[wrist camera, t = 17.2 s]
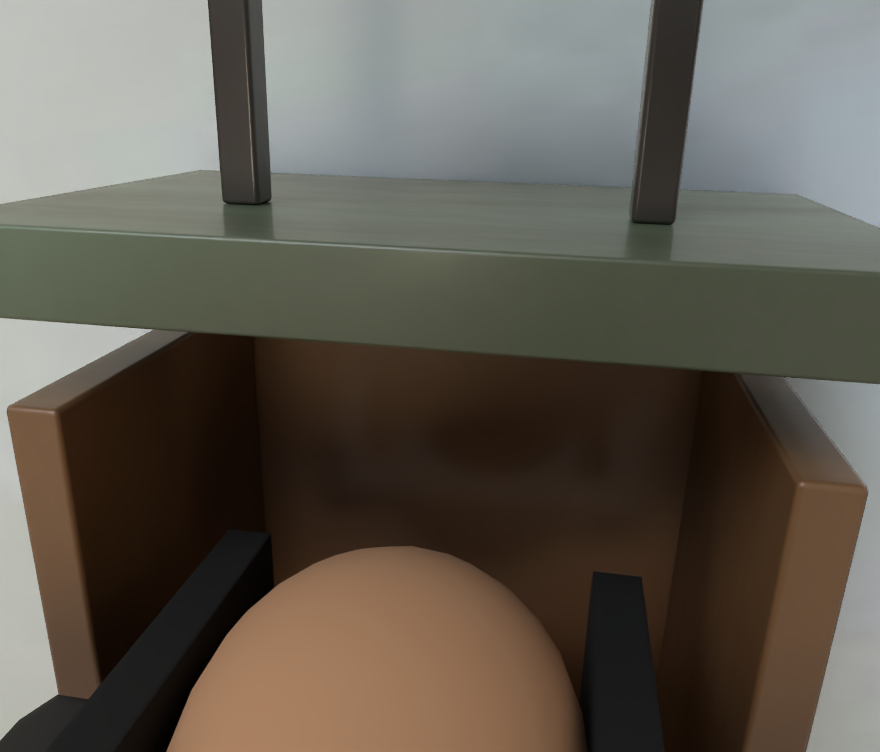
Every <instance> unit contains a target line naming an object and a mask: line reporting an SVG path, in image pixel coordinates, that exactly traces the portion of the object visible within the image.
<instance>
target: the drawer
mask: <svg viewBox="0 0 880 752" xmlns="http://www.w3.org/2000/svg"><path fill="white" fill-rule="evenodd" d="M208 8H209V22H210V36H211V49H212V63H213V77H214V91H215V105H216V118H217V132H218V146H219V160H220V171H209V170H199V171H193V172H187V173H181V174H175V175H169V176H163V177H157V178H152V179H146V180H140V181H134V182H128V183H122V184H116V185H110V186H105V187H99V188H93V189H87V190H81V191H75V192H69V193H63V194H58V195H52V196H46V197H40V198H34V199H28V200H22V201H16V202H11V203H5V204H0V318H9V319H22V320H35V321H48V322H62V323H75V324H88V325H101V326H115V327H128V328H141V329H154V330H152V331H150V332H148V333H146V334H145V335H143V336H141V337H139V338H137V339H135V340H133V341H131V342H129V343H127V344H126V345H124V346H122V347H120V348H118V349H116V350H114V351H112V352H110V353H108V354H107V355H105V356H103V357H101V358H99V359H97V360H95V361H93V362H91V363H89V364H87V365H86V366H84V367H82V368H80V369H78V370H76V371H74V372H72V373H70V374H68V375H67V376H65V377H63V378H61V379H59V380H57V381H55V382H53V383H51V384H49V385H48V386H46V387H44V388H42V389H40V390H38V391H36V392H34V393H32V394H30V395H29V396H27V397H25V398H23V399H21V400H19V401H17V402H15V403H13V404H11V405H10V406H8V408H7V416H8V421H9V426H10V432H11V437H12V443H13V448H14V454H15V459H16V465H17V470H18V475H19V481H20V486H21V492H22V497H23V503H24V508H25V514H26V519H27V524H28V530H29V535H30V541H31V546H32V552H33V557H34V563H35V568H36V573H37V579H38V584H39V590H40V595H41V601H42V606H43V611H44V617H45V622H46V628H47V633H48V639H49V644H50V650H51V655H52V660H53V666H54V671H55V677H56V682H57V688H58V693H59V695H65V696H71V697H78V698H84V699H89V698H90V696H91V695H92V694H93V693H94V692H95V690H96V689H97V688H98V687H99V686H100V684H101V683H102V682H103V681H104V680H105V678H106V677H107V676H108V675H109V674H110V672H111V671H112V670H113V669H114V667H115V666H116V665H117V664H118V663H119V661H120V660H121V659H122V658H123V657H124V655H125V654H126V653H127V652H128V651H129V649H130V648H131V647H132V646H133V645H134V643H135V642H136V641H137V640H138V639H139V637H140V636H141V635H142V634H143V632H144V631H145V630H146V629H147V628H148V626H149V625H150V624H151V623H152V622H153V620H154V619H155V618H156V617H157V616H158V614H159V613H160V612H161V611H162V610H163V608H164V607H165V606H166V605H167V603H168V602H169V601H170V600H171V599H172V597H173V596H174V595H175V594H176V593H177V591H178V590H179V589H180V588H181V587H182V585H183V584H184V583H185V582H186V581H187V579H188V578H189V577H190V576H191V574H192V573H193V572H194V571H195V570H196V568H197V567H198V566H199V565H200V564H201V562H202V561H203V560H204V559H205V558H206V556H207V555H208V554H209V553H210V552H211V550H212V549H213V548H214V547H215V546H216V544H217V543H218V542H219V541H220V539H221V538H222V537H223V536H224V535H225V533H226V532H227V531H228V530H229V529H234V530H243V531H252V532H260V533H269V534H271V541H272V558H273V575H274V588H275V587H276V586H277V585H278V584H280V583H281V582H283V581H285V580H287V579H288V578H290V577H292V576H294V575H295V574H297V573H299V572H300V571H302V570H304V569H306V568H307V567H309V566H311V565H312V564H314V563H317V562H319V561H322V560H324V559H327V558H329V557H332V556H335V555H338V554H342V553H346V552H350V551H354V550H357V549H364V548H375V547H391V546H415V547H419V548H424V549H428V550H433V551H437V552H442V553H447V554H450V555H452V556H454V557H457V558H459V559H461V560H463V561H466V562H468V563H470V564H472V565H474V566H475V567H477V568H478V569H480V570H482V571H483V572H485V573H487V574H488V575H490V576H491V577H493V578H495V579H496V580H498V581H499V582H501V583H502V584H503V585H505V586H506V587H507V588H509V589H510V590H511V591H512V592H513V593H514V594H515V595H516V596H517V597H518V598H519V599H520V600H521V601H522V602H523V603H524V605H525V606H526V607H527V608H528V609H529V610H530V611H531V612H532V613H533V614H534V615H535V616H536V617H537V618H538V619H539V620H540V622H541V623H542V625H543V626H544V628H545V630H546V631H547V633H548V634H549V636H550V637H551V639H552V640H553V642H554V644H555V645H556V647H557V648H558V650H559V651H560V653H561V656H562V659H563V662H564V664H565V667H566V670H567V672H568V675H569V678H570V681H571V683H572V686H573V689H574V691H575V694H576V697H577V700H578V702H579V698H580V689H581V679H582V670H583V661H584V651H585V642H586V633H587V623H588V614H589V605H590V595H591V586H592V577H593V571H596V572H604V573H613V574H621V575H630V576H639V577H642V583H643V591H644V598H645V606H646V613H647V621H648V629H649V636H650V644H651V651H652V659H653V666H654V674H655V681H656V689H657V697H658V704H659V712H660V719H661V727H662V734H663V742H664V749H665V752H806V749H807V745H808V741H809V737H810V733H811V728H812V724H813V720H814V716H815V712H816V708H817V704H818V699H819V695H820V691H821V687H822V683H823V679H824V675H825V670H826V666H827V662H828V658H829V654H830V650H831V645H832V641H833V637H834V633H835V629H836V625H837V621H838V616H839V612H840V608H841V604H842V600H843V596H844V592H845V587H846V583H847V579H848V575H849V571H850V567H851V563H852V558H853V554H854V550H855V546H856V542H857V538H858V534H859V529H860V525H861V521H862V517H863V513H864V509H865V504H866V500H867V496H868V489H867V486H866V485H865V484H864V482H863V481H862V480H861V478H860V477H859V476H858V474H857V473H856V472H855V470H854V469H853V468H852V466H851V465H850V464H849V462H848V461H847V460H846V459H845V457H844V456H843V455H842V453H841V452H840V451H839V449H838V448H837V447H836V445H835V444H834V443H833V441H832V440H831V439H830V437H829V436H828V435H827V433H826V432H825V431H824V429H823V428H822V427H821V425H820V424H819V423H818V421H817V420H816V419H815V417H814V416H813V415H812V413H811V412H810V411H809V409H808V408H807V407H806V405H805V404H804V403H803V401H802V400H801V399H800V397H799V396H798V395H797V393H796V392H795V391H794V390H793V388H792V387H791V386H790V384H789V383H788V382H787V380H786V379H785V378H784V377H791V378H804V379H817V380H830V381H844V382H857V383H870V384H880V228H878V227H875V226H873V225H870V224H868V223H866V222H863V221H861V220H858V219H856V218H853V217H851V216H848V215H846V214H843V213H841V212H839V211H836V210H834V209H831V208H829V207H826V206H824V205H821V204H819V203H817V202H814V201H812V200H809V199H807V198H804V197H802V196H799V195H797V194H776V193H752V192H727V191H702V190H679V189H680V181H681V174H682V166H683V158H684V150H685V142H686V134H687V126H688V118H689V111H690V103H691V95H692V87H693V79H694V71H695V63H696V55H697V48H698V40H699V32H700V24H701V16H702V8H703V0H651V10H650V19H649V28H648V38H647V47H646V57H645V66H644V76H643V85H642V94H641V104H640V113H639V123H638V132H637V142H636V151H635V160H634V170H633V179H632V188H628V187H604V186H579V185H554V184H530V183H505V182H480V181H456V180H431V179H406V178H382V177H357V176H332V175H308V174H283V173H270V153H269V134H268V114H267V94H266V75H265V55H264V35H263V16H262V0H208Z"/></svg>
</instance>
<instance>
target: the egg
mask: <svg viewBox="0 0 880 752" xmlns="http://www.w3.org/2000/svg"><path fill="white" fill-rule="evenodd" d="M167 752H588V747H587V739H586V732H585V726H584V720H583V714H582V710H581V708H580V705H579V702H578V700H577V697H576V694H575V691H574V689H573V686H572V683H571V681H570V678H569V675H568V672H567V670H566V667H565V664H564V662H563V659H562V656H561V653H560V651H559V650H558V648H557V647H556V645H555V644H554V642H553V640H552V639H551V637H550V636H549V634H548V633H547V631H546V630H545V628H544V626H543V625H542V623H541V622H540V620H539V619H538V618H537V617H536V616H535V615H534V614H533V613H532V612H531V611H530V610H529V609H528V608H527V607H526V606H525V605H524V603H523V602H522V601H521V600H520V599H519V598H518V597H517V596H516V595H515V594H514V593H513V592H512V591H511V590H510V589H509V588H507V587H506V586H505V585H503V584H502V583H501V582H499V581H498V580H496V579H495V578H493V577H491V576H490V575H488V574H487V573H485V572H483V571H482V570H480V569H478V568H477V567H475V566H474V565H472V564H470V563H468V562H466V561H463V560H461V559H459V558H457V557H454V556H452V555H450V554H447V553H442V552H437V551H433V550H428V549H424V548H419V547H415V546H391V547H375V548H364V549H357V550H354V551H350V552H346V553H342V554H338V555H335V556H332V557H329V558H327V559H324V560H322V561H319V562H317V563H314V564H312V565H311V566H309V567H307V568H306V569H304V570H302V571H300V572H299V573H297V574H295V575H294V576H292V577H290V578H288V579H287V580H285V581H283V582H281V583H280V584H278V585H277V586H276V587H275V588H274V589H272V590H271V591H270V592H269V593H268V594H267V595H265V596H264V597H263V598H262V599H261V600H259V601H258V602H257V603H256V604H255V605H254V606H252V607H251V608H250V609H249V610H248V611H247V612H246V613H245V614H244V615H243V616H242V618H241V619H240V620H239V621H238V622H237V623H236V624H235V626H234V627H233V628H232V629H231V630H230V631H229V633H228V634H227V635H226V637H225V638H224V640H223V641H222V643H221V644H220V646H219V648H218V649H217V651H216V652H215V654H214V656H213V657H212V659H211V660H210V662H209V663H208V665H207V667H206V668H205V670H204V671H203V673H202V674H201V676H200V678H199V679H198V681H197V682H196V684H195V686H194V687H193V689H192V690H191V693H190V695H189V697H188V700H187V702H186V705H185V707H184V710H183V712H182V715H181V717H180V720H179V722H178V725H177V727H176V729H175V732H174V734H173V737H172V739H171V742H170V744H169V747H168V749H167Z"/></svg>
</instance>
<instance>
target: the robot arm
mask: <svg viewBox="0 0 880 752" xmlns="http://www.w3.org/2000/svg"><path fill="white" fill-rule="evenodd" d="M272 589H274V575H273V558H272V541H271V534H269V533H260V532H252V531H243V530H234V529H229V530H228V531H227V532H226V533H225V535H224V536H223V537H222V538H221V539H220V541H219V542H218V543H217V544H216V546H215V547H214V548H213V549H212V550H211V552H210V553H209V554H208V555H207V556H206V558H205V559H204V560H203V561H202V562H201V564H200V565H199V566H198V567H197V568H196V570H195V571H194V572H193V573H192V574H191V576H190V577H189V578H188V579H187V581H186V582H185V583H184V584H183V585H182V587H181V588H180V589H179V590H178V591H177V593H176V594H175V595H174V596H173V597H172V599H171V600H170V601H169V602H168V603H167V605H166V606H165V607H164V608H163V610H162V611H161V612H160V613H159V614H158V616H157V617H156V618H155V619H154V620H153V622H152V623H151V624H150V625H149V626H148V628H147V629H146V630H145V631H144V632H143V634H142V635H141V636H140V637H139V639H138V640H137V641H136V642H135V643H134V645H133V646H132V647H131V648H130V649H129V651H128V652H127V653H126V654H125V655H124V657H123V658H122V659H121V660H120V661H119V663H118V664H117V665H116V666H115V667H114V669H113V670H112V671H111V672H110V674H109V675H108V676H107V677H106V678H105V680H104V681H103V682H102V683H101V684H100V686H99V687H98V688H97V689H96V690H95V692H94V693H93V694H92V695H91V696H90V698H89V699H84V698H78V697H71V696H65V695H59V694H58V695H56V696H55V697H53V698H52V699H50V700H49V701H47V702H46V703H44V704H43V705H41V706H40V707H38V708H37V709H35V710H34V711H32V712H31V713H29V714H28V715H26V716H25V717H23V718H22V719H20V720H19V721H18V722H17V723H16V724H15V725H14V726H13V727H12V729H11V730H10V731H9V732H8V733H7V734H6V735H5V736H4V737H3V738H2V740H1V741H0V752H167V749H168V747H169V744H170V742H171V739H172V737H173V734H174V732H175V729H176V727H177V725H178V722H179V720H180V717H181V715H182V712H183V710H184V707H185V705H186V702H187V700H188V697H189V695H190V693H191V690H192V689H193V687H194V686H195V684H196V682H197V681H198V679H199V678H200V676H201V674H202V673H203V671H204V670H205V668H206V667H207V665H208V663H209V662H210V660H211V659H212V657H213V656H214V654H215V652H216V651H217V649H218V648H219V646H220V644H221V643H222V641H223V640H224V638H225V637H226V635H227V634H228V633H229V631H230V630H231V629H232V628H233V627H234V626H235V624H236V623H237V622H238V621H239V620H240V619H241V618H242V616H243V615H244V614H245V613H246V612H247V611H248V610H249V609H250V608H251V607H252V606H254V605H255V604H256V603H257V602H258V601H259V600H261V599H262V598H263V597H264V596H265V595H267V594H268V593H269V592H270V591H271V590H272ZM579 705H580V708H581V710H582V714H583V720H584V726H585V732H586V739H587V747H588V752H665V749H664V742H663V734H662V727H661V719H660V712H659V704H658V697H657V689H656V681H655V674H654V666H653V659H652V651H651V644H650V636H649V629H648V621H647V613H646V606H645V598H644V591H643V583H642V577H639V576H630V575H621V574H613V573H604V572H596V571H593V577H592V586H591V595H590V605H589V614H588V623H587V633H586V642H585V651H584V661H583V670H582V679H581V689H580V698H579Z"/></svg>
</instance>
